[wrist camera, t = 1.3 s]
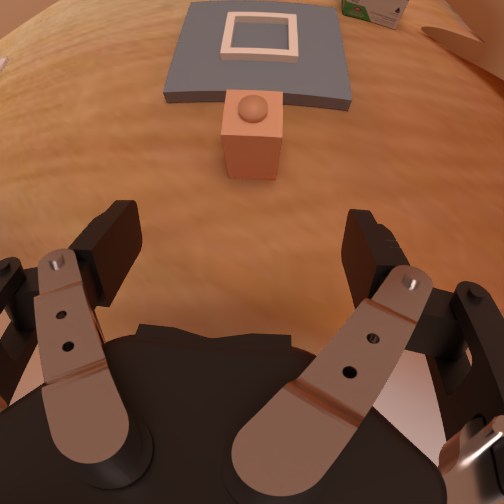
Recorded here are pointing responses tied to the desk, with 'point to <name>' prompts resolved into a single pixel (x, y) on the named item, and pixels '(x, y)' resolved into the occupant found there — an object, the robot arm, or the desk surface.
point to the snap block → (252, 133)
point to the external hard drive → (3, 63)
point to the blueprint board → (260, 53)
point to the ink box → (376, 11)
